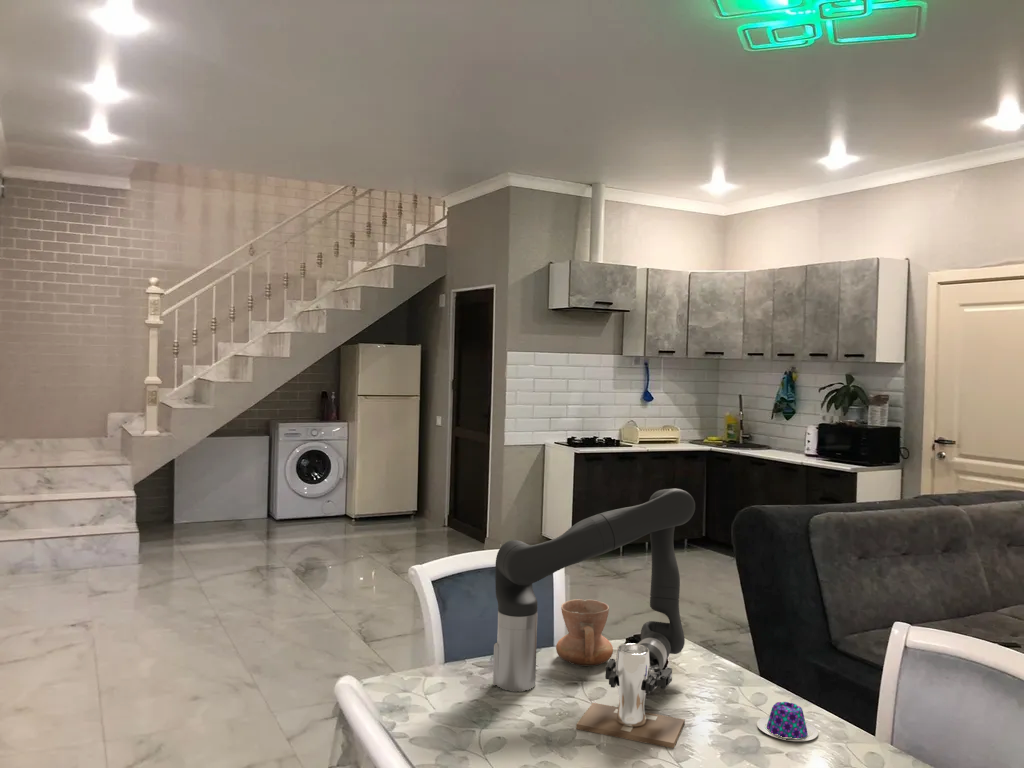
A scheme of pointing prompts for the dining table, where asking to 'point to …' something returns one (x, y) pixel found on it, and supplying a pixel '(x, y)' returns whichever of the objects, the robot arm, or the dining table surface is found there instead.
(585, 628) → the ceramic jug
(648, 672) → the beer glass
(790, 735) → the pudding
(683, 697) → the dining table surface
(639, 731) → the board
